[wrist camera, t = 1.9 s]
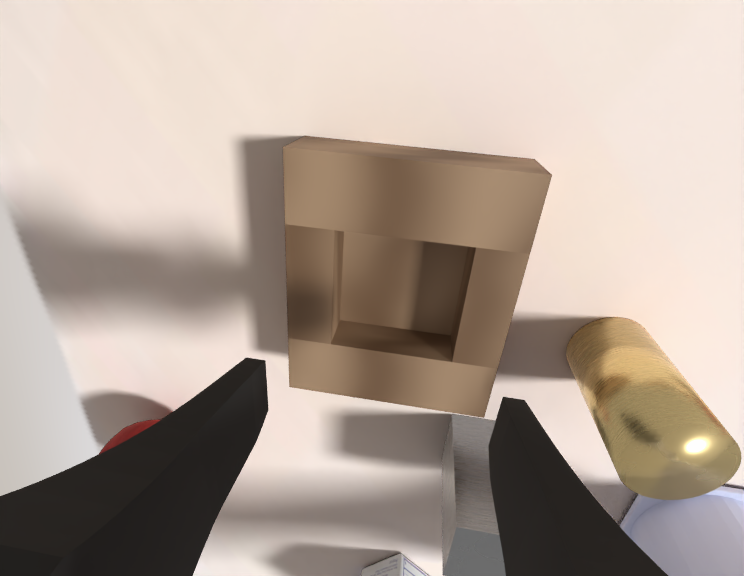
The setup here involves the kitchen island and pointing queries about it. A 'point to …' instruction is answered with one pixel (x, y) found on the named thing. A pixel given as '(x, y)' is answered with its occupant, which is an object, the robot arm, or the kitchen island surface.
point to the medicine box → (393, 568)
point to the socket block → (404, 268)
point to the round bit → (649, 413)
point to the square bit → (469, 501)
